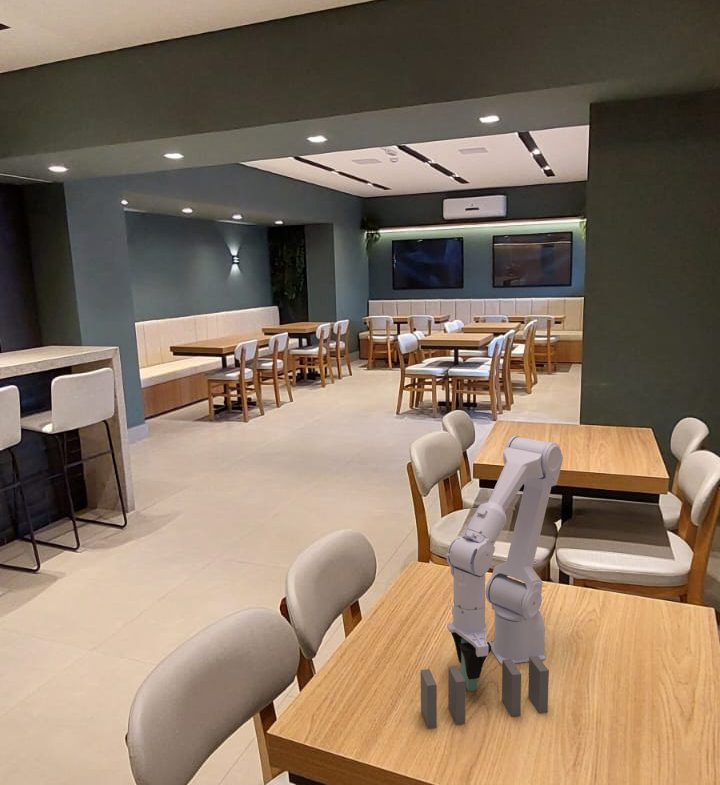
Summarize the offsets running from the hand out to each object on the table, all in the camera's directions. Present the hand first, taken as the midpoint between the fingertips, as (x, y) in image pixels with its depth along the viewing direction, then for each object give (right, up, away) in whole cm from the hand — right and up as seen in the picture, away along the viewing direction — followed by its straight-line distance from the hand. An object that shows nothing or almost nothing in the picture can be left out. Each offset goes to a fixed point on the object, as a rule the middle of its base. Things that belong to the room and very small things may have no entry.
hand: (468, 669), depth 114 cm
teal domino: (0, -3, 0) cm, 3 cm away
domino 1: (-9, -5, -9) cm, 13 cm away
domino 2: (-4, -4, -8) cm, 10 cm away
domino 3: (+6, -4, -7) cm, 10 cm away
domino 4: (+11, -4, -6) cm, 13 cm away
